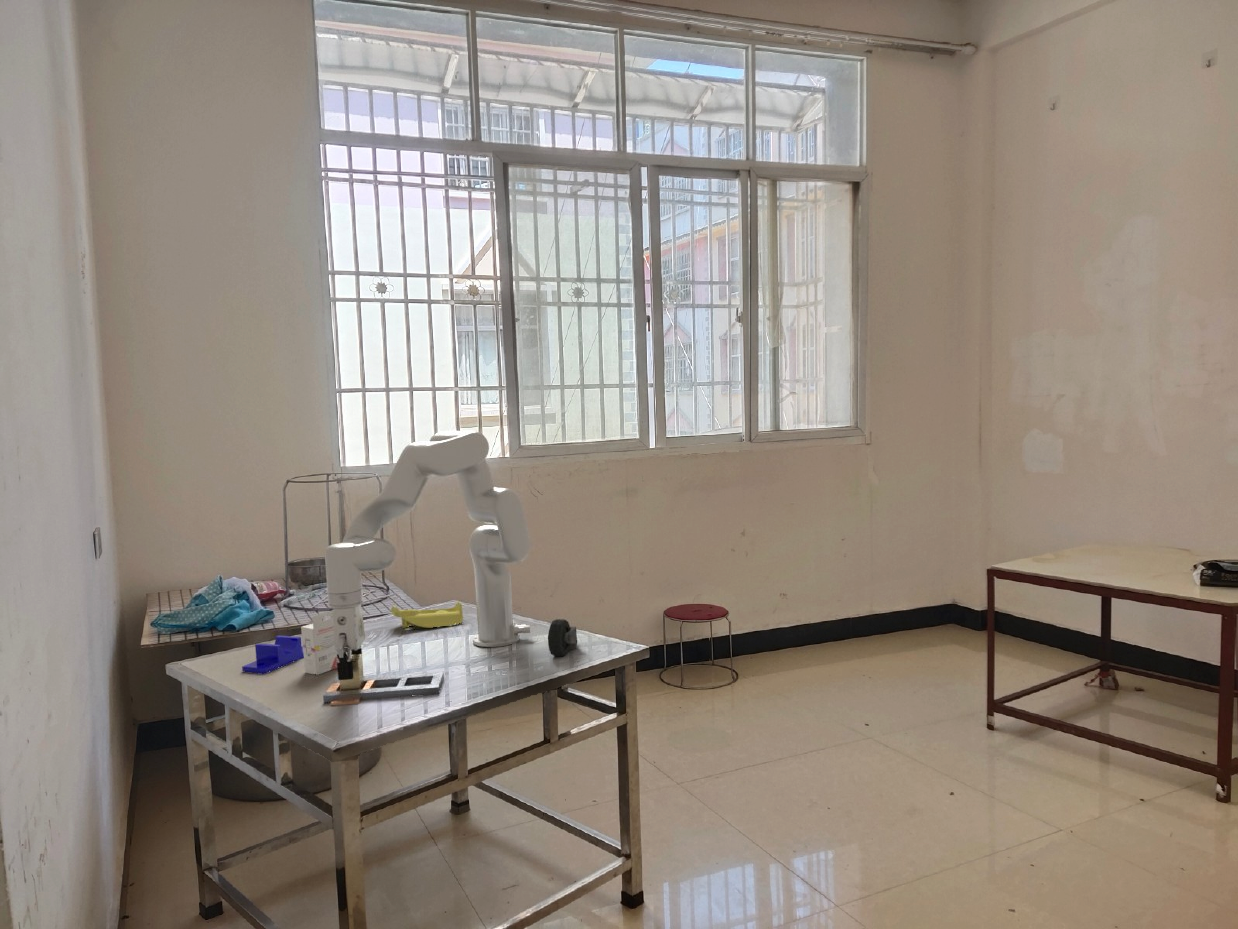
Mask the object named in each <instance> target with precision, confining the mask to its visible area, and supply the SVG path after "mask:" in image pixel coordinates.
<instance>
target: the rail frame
mask: <svg viewBox="0 0 1238 929" xmlns="http://www.w3.org/2000/svg"><path fill="white" fill-rule="evenodd" d="M444 680H445V673H444V671H437V672H436V671H435V672H434V671H433V672H432V671H431V672H421V673H409V674H395V675H380V676H367V677H364V688H363V689H362V690H349V691H340V681H339V679H334V681H333V682H332V683H331V685H330V686H329V687H328V689H327V690H326V692H325V693H324V695H323V696H322V698H323V704H330V706H331V705H333V706H345V705H356V704H357V705H358V704H360V703H361V701H369V699H371V700H382V698H384V699H393V698H408V697H407V696H410V697H413V696H412V695H423V696H433V695H439V694H440V692H439V691H441V689H440V688H442V685H443V682H444ZM418 683H419V684H418ZM417 684H418V685H417ZM377 687H378V688H377ZM325 702H326V703H325ZM327 702H328V703H327ZM329 702H331V703H329ZM359 702H360V703H359Z"/></svg>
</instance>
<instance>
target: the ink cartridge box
mask: <svg viewBox="0 0 1238 929" xmlns="http://www.w3.org/2000/svg"><path fill="white" fill-rule="evenodd" d="M325 617H329V618H325ZM324 618H325V619H324ZM322 619H323V620H322ZM311 621H312V623H310V624H306V625H303V626H301V627H300V629H301V630H300V631H301V644H302V647H303V654H304V657H303V663H304V672H305V673H306V674H311V675H315V674H316V676H319V675H322V674H324V673H327V672H330V671H332V670H335V669H338V668H337V654H338V653H337V651H336V650H335V645H334V632H333V609H332V610H329V611H325V612H322V613H319V614H316V615H315V614H314V615H312V616H311Z"/></svg>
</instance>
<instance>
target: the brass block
mask: <svg viewBox="0 0 1238 929" xmlns="http://www.w3.org/2000/svg"><path fill="white" fill-rule="evenodd" d="M347 656H348V655H347ZM351 661H352V662H353V676H354V677H353V679H349V680H339V679H338V680H339V681H340V691H349V690H362V689H363V688H364V678H365V677H364V665H363V663H364V662H362V661H363V653H362V654H354V655H351Z"/></svg>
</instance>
